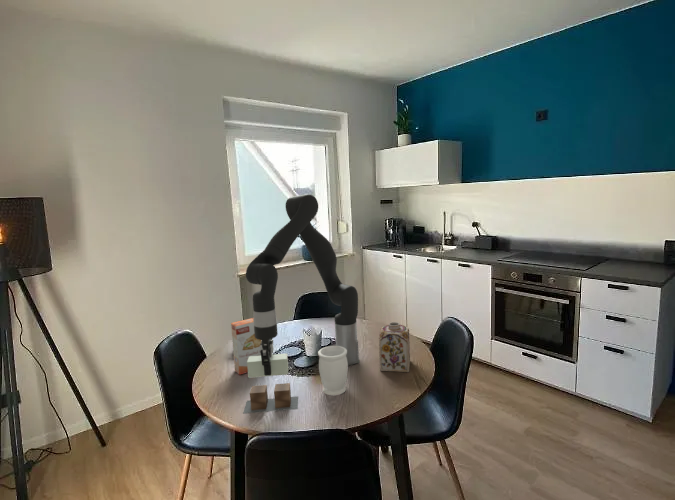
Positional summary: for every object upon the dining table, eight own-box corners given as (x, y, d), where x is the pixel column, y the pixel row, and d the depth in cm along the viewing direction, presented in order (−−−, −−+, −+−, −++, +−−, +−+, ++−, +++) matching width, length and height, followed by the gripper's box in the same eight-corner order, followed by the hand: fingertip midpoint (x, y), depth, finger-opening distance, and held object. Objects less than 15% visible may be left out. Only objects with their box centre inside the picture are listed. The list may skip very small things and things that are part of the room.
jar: (339, 400, 130) (336, 359, 127) (314, 393, 135) (312, 353, 133) (354, 386, 138) (352, 348, 136) (330, 380, 144) (328, 343, 142)
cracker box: (239, 375, 152) (235, 326, 149) (234, 370, 157) (230, 322, 154) (271, 365, 160) (267, 318, 157) (265, 361, 165) (261, 315, 162)
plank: (288, 368, 130) (287, 353, 129) (287, 374, 125) (286, 358, 124) (250, 371, 129) (248, 356, 128) (248, 377, 124) (247, 362, 123)
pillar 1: (268, 401, 131) (266, 384, 130) (266, 408, 126) (265, 392, 125) (253, 402, 130) (252, 386, 130) (251, 410, 125) (249, 393, 125)
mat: (298, 397, 133) (298, 396, 133) (297, 409, 125) (297, 408, 125) (247, 401, 132) (246, 400, 132) (242, 414, 124) (242, 413, 124)
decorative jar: (409, 373, 147) (408, 329, 145) (379, 371, 150) (378, 328, 147) (410, 360, 159) (409, 319, 156) (382, 358, 161) (381, 318, 159)
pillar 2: (291, 399, 131) (290, 383, 130) (290, 407, 126) (289, 390, 125) (276, 400, 131) (275, 384, 130) (275, 408, 126) (274, 391, 125)
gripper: (274, 329, 118) (278, 380, 120) (278, 315, 132) (281, 361, 134) (250, 330, 117) (254, 382, 119) (256, 316, 131) (260, 363, 134)
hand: (268, 371), depth 127 cm, fingers closed on plank, 4 cm apart
